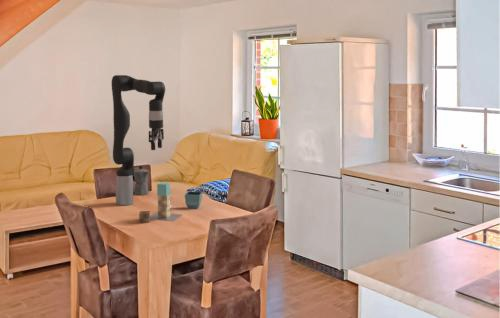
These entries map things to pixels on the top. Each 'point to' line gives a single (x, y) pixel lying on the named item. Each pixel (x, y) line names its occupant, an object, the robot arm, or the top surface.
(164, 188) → the teal block
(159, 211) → the tower base block
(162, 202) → the tower top block
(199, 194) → the flower pot
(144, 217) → the walnut block
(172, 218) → the slate board
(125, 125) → the robot arm
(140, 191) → the coffeepot
